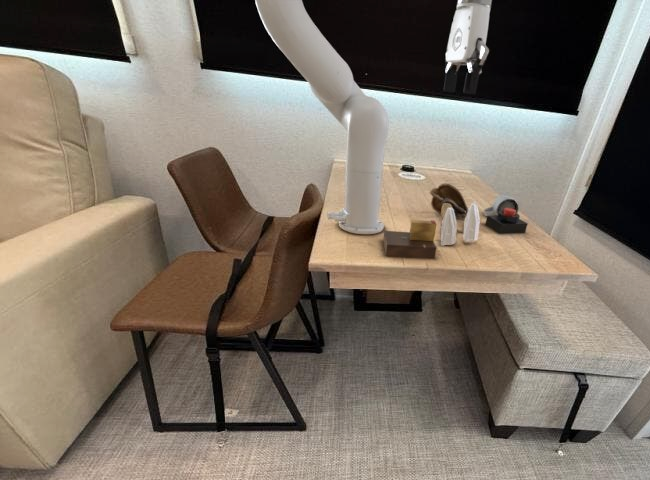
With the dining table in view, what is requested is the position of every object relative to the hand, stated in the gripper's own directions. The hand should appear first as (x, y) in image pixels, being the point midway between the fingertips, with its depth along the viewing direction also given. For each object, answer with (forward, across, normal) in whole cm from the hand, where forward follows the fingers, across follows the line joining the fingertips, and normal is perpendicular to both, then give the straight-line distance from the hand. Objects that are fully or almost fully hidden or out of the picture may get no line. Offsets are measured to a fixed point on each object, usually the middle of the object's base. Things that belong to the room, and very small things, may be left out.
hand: (458, 92), depth 82 cm
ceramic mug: (+35, -7, +29) cm, 46 cm away
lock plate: (+35, +15, -15) cm, 41 cm away
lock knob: (+32, +16, -13) cm, 38 cm away
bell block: (+35, +4, +24) cm, 42 cm away
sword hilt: (+35, -1, +5) cm, 36 cm away
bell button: (+30, +4, +23) cm, 39 cm away
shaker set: (+35, +13, +1) cm, 37 cm away
